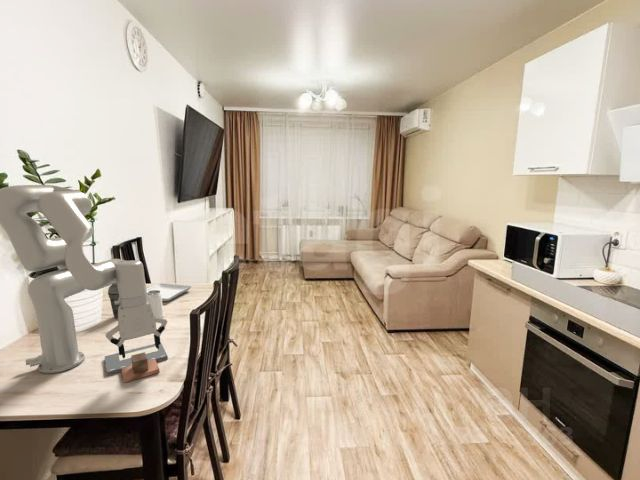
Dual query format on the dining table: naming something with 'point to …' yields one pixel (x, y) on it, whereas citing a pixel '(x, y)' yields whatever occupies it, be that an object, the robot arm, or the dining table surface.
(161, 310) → the can
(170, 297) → the salad plate
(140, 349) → the board
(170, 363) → the dining table surface
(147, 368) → the wooden t-shaped block
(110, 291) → the beverage cup
